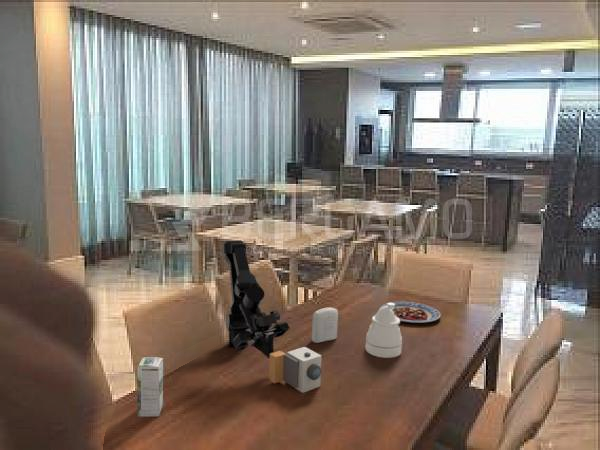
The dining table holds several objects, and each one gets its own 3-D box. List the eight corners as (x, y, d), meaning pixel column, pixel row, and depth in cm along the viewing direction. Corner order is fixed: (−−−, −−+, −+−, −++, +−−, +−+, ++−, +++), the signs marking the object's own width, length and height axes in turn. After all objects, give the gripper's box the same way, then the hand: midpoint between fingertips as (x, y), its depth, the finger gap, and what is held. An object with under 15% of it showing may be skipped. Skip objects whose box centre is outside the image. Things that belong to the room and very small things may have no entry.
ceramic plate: (447, 314, 223) (448, 307, 222) (428, 331, 202) (429, 324, 201) (393, 302, 237) (393, 296, 236) (370, 317, 215) (370, 311, 215)
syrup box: (142, 406, 139) (141, 356, 137) (163, 405, 140) (163, 356, 137) (137, 417, 133) (136, 366, 131) (160, 417, 134) (159, 366, 132)
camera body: (285, 382, 155) (286, 350, 153) (303, 376, 160) (304, 344, 158) (306, 395, 148) (307, 362, 146) (324, 388, 152) (325, 356, 150)
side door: (269, 379, 155) (269, 353, 153) (279, 376, 157) (280, 350, 156) (286, 391, 148) (287, 364, 146) (297, 387, 150) (298, 360, 149)
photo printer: (331, 335, 194) (333, 304, 192) (338, 339, 190) (340, 307, 188) (309, 340, 188) (311, 308, 186) (316, 344, 185) (317, 312, 183)
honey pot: (408, 350, 182) (411, 303, 179) (388, 361, 173) (391, 311, 170) (378, 340, 191) (381, 294, 188) (358, 349, 182) (361, 301, 178)
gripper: (238, 308, 151) (258, 355, 144) (287, 297, 163) (308, 341, 156) (224, 325, 158) (243, 371, 152) (272, 314, 170) (291, 356, 163)
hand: (272, 359), depth 156 cm, fingers closed
